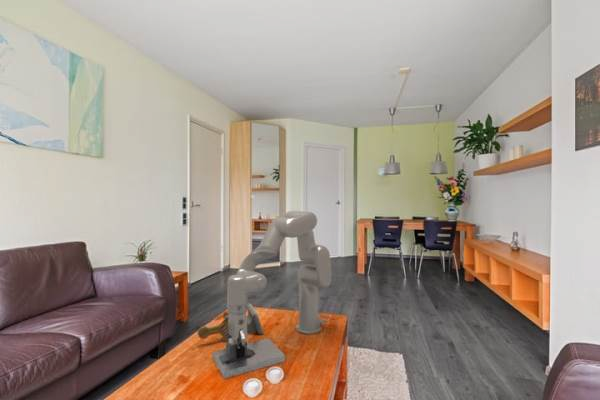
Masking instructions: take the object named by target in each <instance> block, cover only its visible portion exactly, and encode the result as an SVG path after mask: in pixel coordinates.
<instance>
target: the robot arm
mask: <svg viewBox="0 0 600 400" xmlns="http://www.w3.org/2000/svg"><path fill="white" fill-rule="evenodd" d="M317 223H318V218H317V216H316V214H315V213H314V212H312V211H299V210H297V211H296V210H292V211H287V212H286V213H285V214H284V216H282V217H281V216H280V217H279V216H278V217H275V218H273V219H272V220H271V221H270V223H269V225H268V228H267V230H266V232H265V233H264V236H263V237H262V240H261V241H260V243H259V245H258V246H257V247H256V248H255V249H253V250H252V251H251V252H250V253H249V254H248V255H247V256H246V257H245V258H244V259H243V261H242V262H241V264H240V266H239V268H238V270H237V271H236V274H233V275H232V274H231V275H230V276H228V278H227V281H226V282H227V286H226V289H227V293H226V297H227V298H226V299H227V301H226V302H227V303H226V311H227V313H228V314H229V317H228V332H229V338H231V337H232V338H233V339H234V340H235V341H236V343H237V348H236V358H237V359H239V358H243V357H245V344H246V343H245V341H246V340H247V339H248V333H247V318H246V317H247V313H248V310H247V304H248V294H249V293H251V294H253V293H259V292H262V291H263V290H264V289H266V287H267V283H268V279H267V277H266V276H265V275H264V274H262V273H260V272H257V271H255V269H256V267H257V266H258V265H259V264H261V263H263V261H266V260H268V259H271V258H274V257H276V256H277V255H278V253H279V251H280V249H281V247H282V244H283V242H284V240H285V239H286V238H291V239H293V238H296V240H297V252H298V253H297V254H298V257H299V261H301V262H303V263H304V264H302V265H301V266H300V267H299V268H298V270H297V282H298V287H299V288H298V293H299V296H298V297H299V299H298V300H299V301H298V302H299V303H298V304H299V305H298V309H299V310H298V323H297V324H295V330H296V331H297V332H299V333H301V334H306V335H313V334H318V333H319V332H321V331H322V326H321V324H325V323H326V322H327V318H326V317H325V318H322V317H319V289H318V288H322V289H325V288H327V287H329V286H330V284H331V282H332V267H331V266H332V265H331V264H332V263H331V255H330V252H329V249H328V248H327V247H326V246H325V245H321V244H316V240H315V234H314V231H313V230H314V229H315V228H316V226H317ZM239 337H241V338H240V339H238V338H239ZM239 341H241V342H240V344H239ZM246 342H247V341H246Z"/></svg>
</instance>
